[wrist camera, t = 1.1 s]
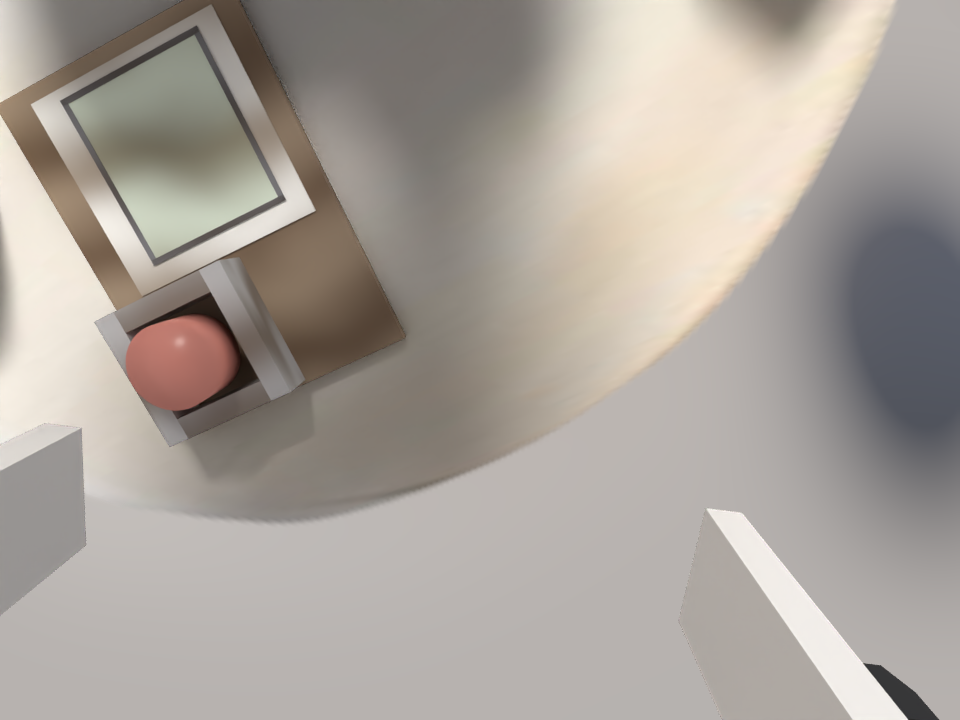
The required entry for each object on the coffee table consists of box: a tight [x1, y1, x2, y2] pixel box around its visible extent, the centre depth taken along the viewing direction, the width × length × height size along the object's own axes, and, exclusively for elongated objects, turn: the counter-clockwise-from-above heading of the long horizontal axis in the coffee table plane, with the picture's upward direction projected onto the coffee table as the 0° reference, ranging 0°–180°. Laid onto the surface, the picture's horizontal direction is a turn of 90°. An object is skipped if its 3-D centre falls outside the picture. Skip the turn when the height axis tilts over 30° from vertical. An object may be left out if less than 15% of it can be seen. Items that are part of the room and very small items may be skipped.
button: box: [126, 314, 240, 411], centre depth 31 cm, size 4×4×3 cm
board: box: [0, 0, 406, 447], centre depth 32 cm, size 20×14×3 cm
